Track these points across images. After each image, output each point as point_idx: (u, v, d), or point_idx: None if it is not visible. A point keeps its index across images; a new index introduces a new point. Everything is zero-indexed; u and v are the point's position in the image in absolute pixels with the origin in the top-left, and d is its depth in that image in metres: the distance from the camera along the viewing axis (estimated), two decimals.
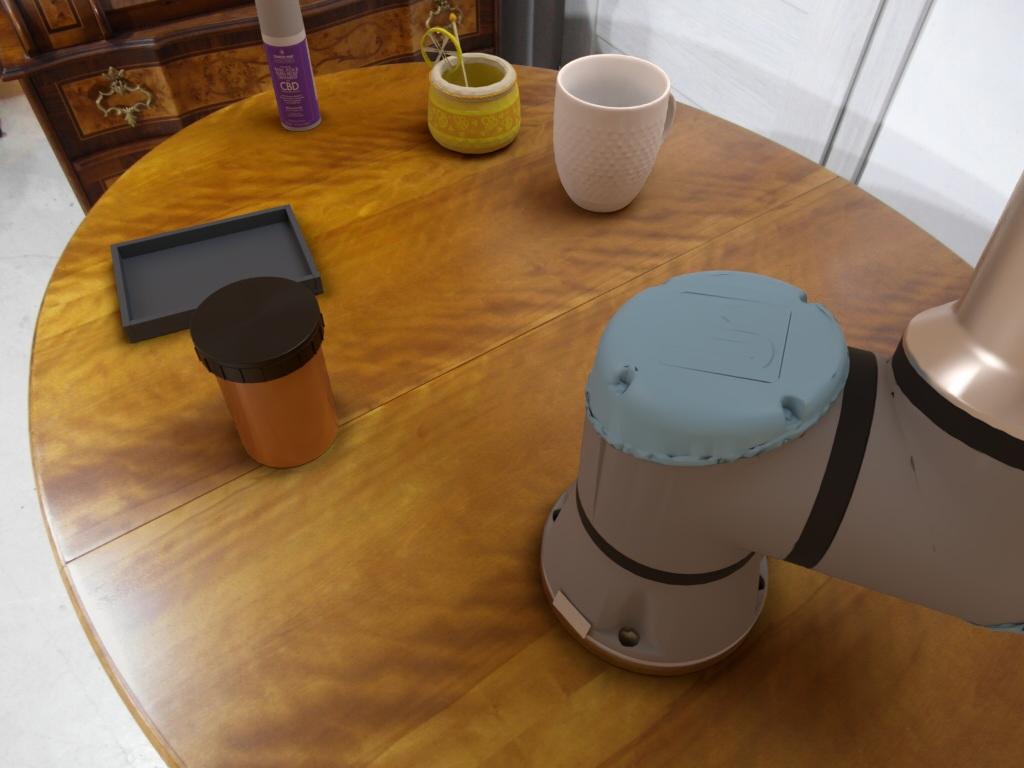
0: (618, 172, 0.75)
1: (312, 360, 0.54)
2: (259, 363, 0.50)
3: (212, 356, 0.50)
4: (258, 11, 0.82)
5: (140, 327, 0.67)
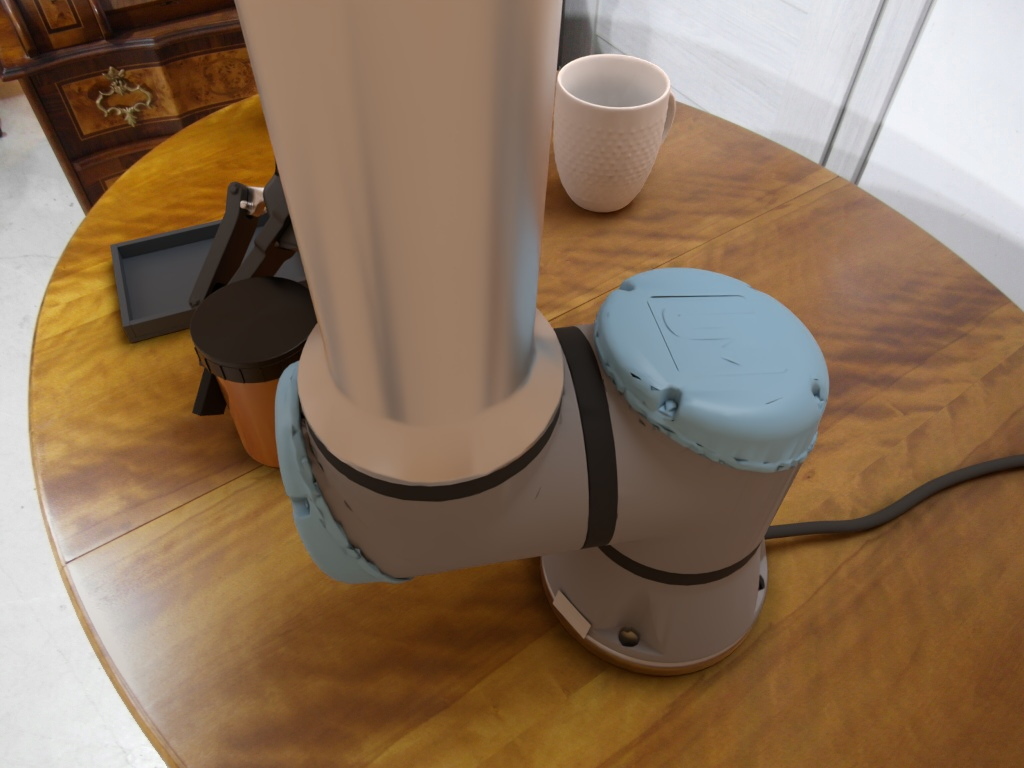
0: (618, 171, 0.75)
1: None
2: (259, 363, 0.50)
3: (212, 356, 0.50)
4: None
5: (140, 327, 0.67)
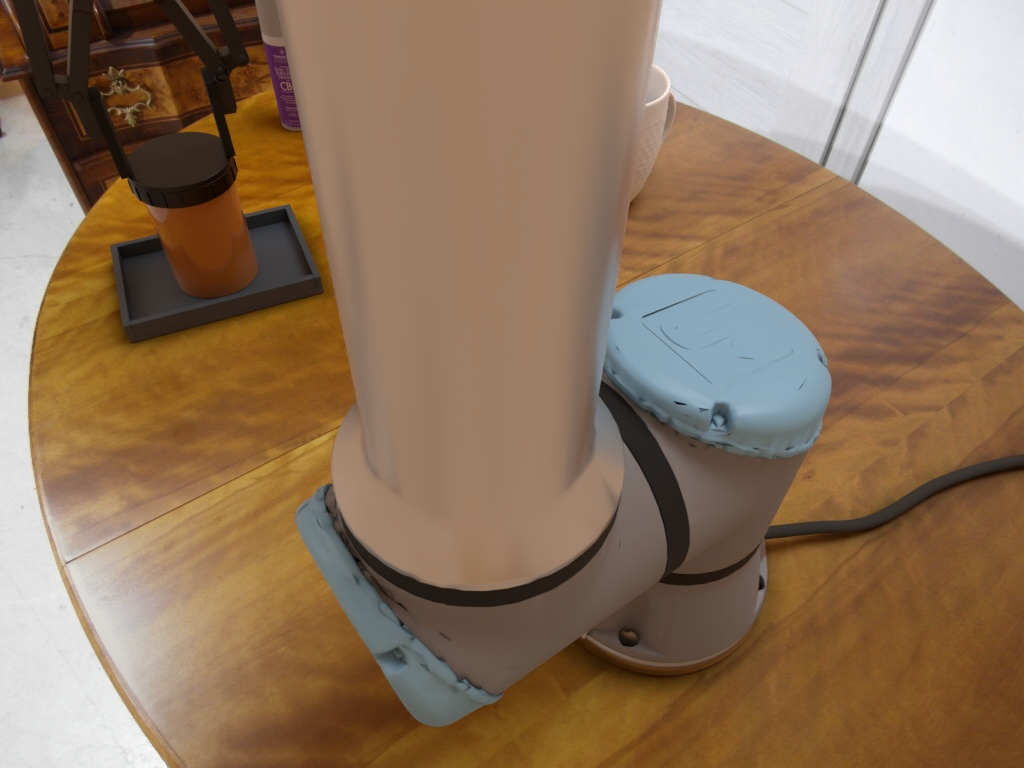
0: None
1: (226, 196, 0.66)
2: (178, 188, 0.62)
3: (140, 183, 0.62)
4: (258, 11, 0.82)
5: (140, 327, 0.67)
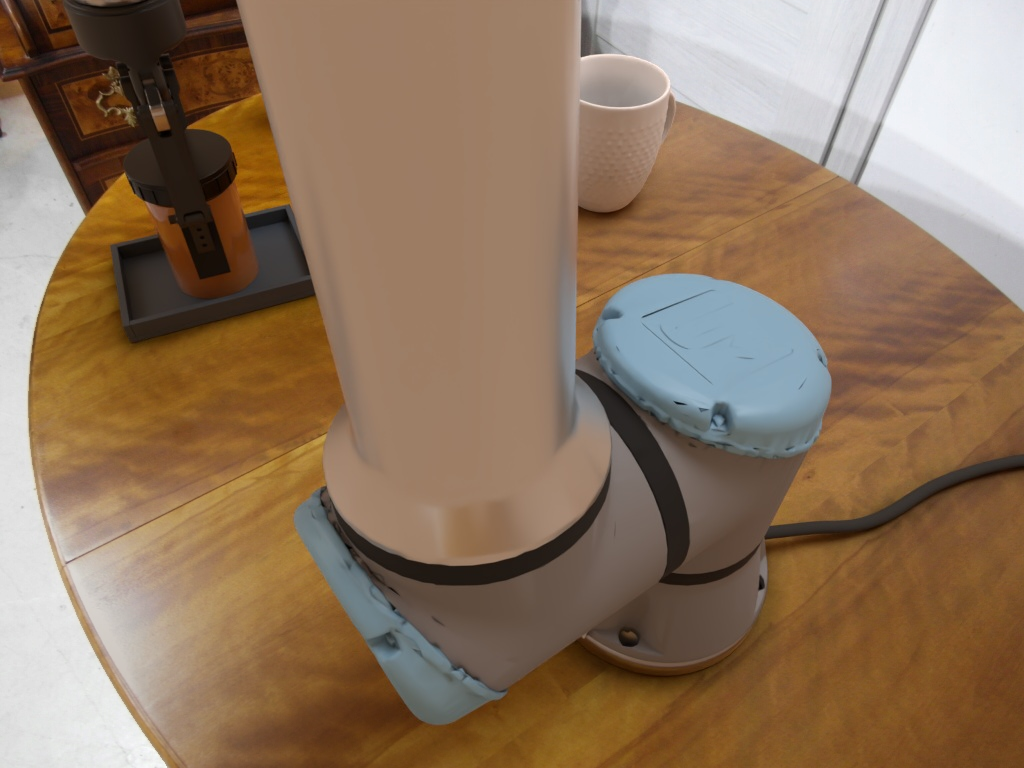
0: (618, 172, 0.75)
1: (227, 197, 0.66)
2: None
3: (220, 166, 0.63)
4: None
5: (140, 327, 0.67)
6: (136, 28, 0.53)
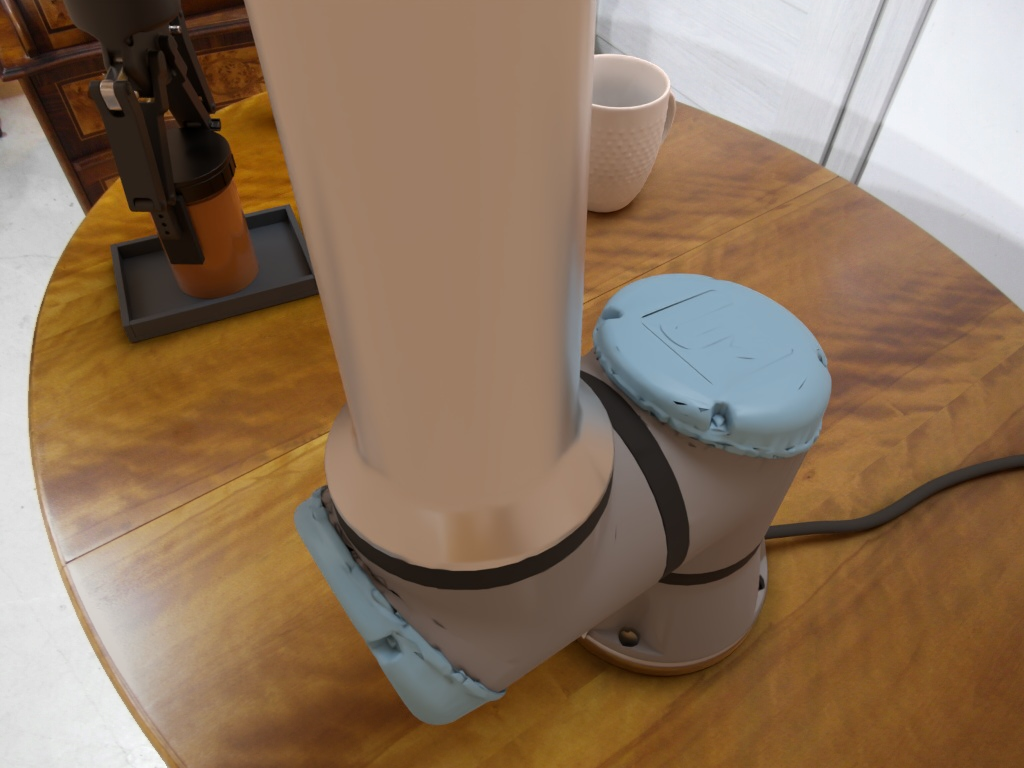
0: (618, 172, 0.75)
1: (227, 197, 0.66)
2: None
3: (221, 136, 0.66)
4: None
5: (140, 327, 0.67)
6: (103, 4, 0.51)
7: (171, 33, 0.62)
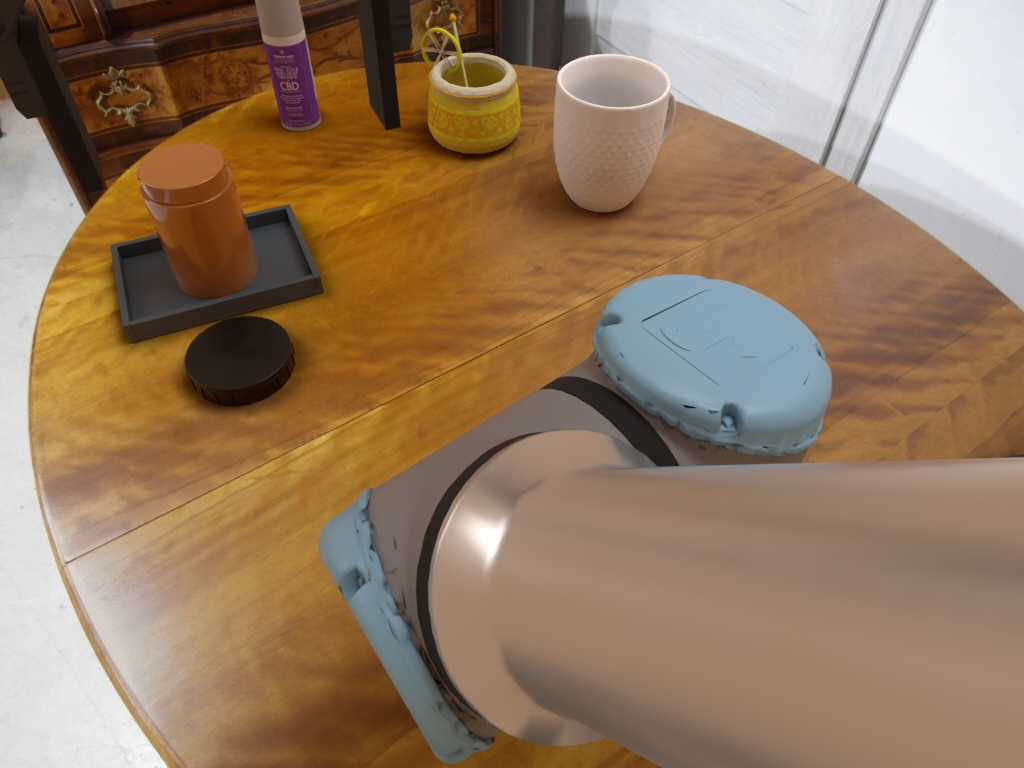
0: (618, 172, 0.75)
1: (227, 197, 0.66)
2: (185, 365, 0.64)
3: (196, 337, 0.65)
4: (258, 11, 0.82)
5: (140, 327, 0.67)
6: None
7: None
